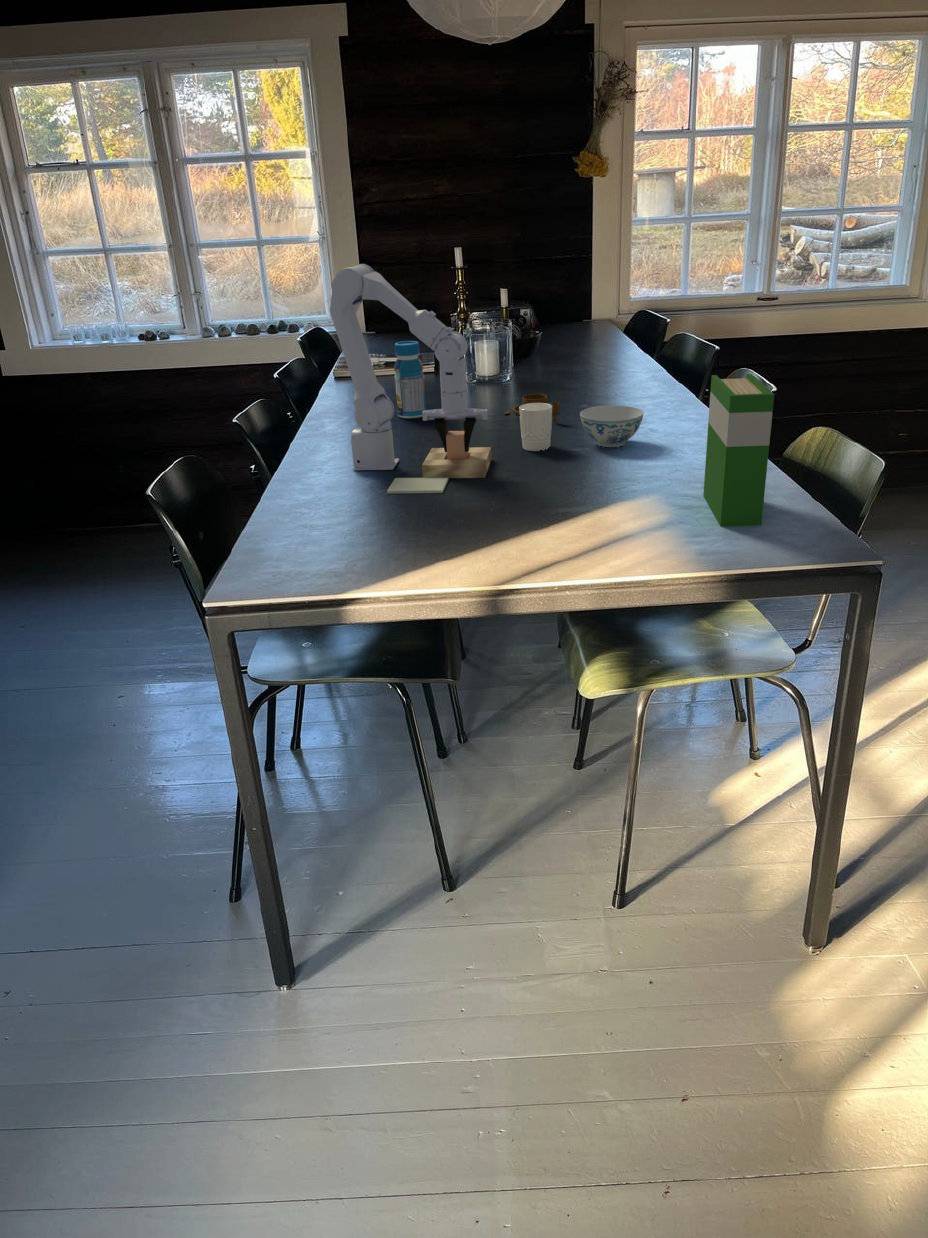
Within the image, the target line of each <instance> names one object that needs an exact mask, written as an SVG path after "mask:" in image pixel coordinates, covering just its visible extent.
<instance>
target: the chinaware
mask: <svg viewBox="0 0 928 1238" xmlns="http://www.w3.org/2000/svg"><path fill="white" fill-rule="evenodd" d="M644 414H645V412H644V410H642V409H641V408H638V407H635V406H629V405H618V404H617V405H616V404H615V405H612V404H611V405H609V404H608V405H598V406H593V407H588V408H585V409H583V410H581V411H580V412H579V416H580V417H579V418H580V421H581V425H582V426H583V429H584V430H585V432H586V433H587V435H588V436H589V437H590V438H591V439H592V440H594V441H596V445H597V444H598V445H599V446H598V445H597V446H598V447H600V446H604V447H617V448H619V447H618V446H622V445H624V444H625V445H626V442H627V441H628V440H630V439H631V438H632V437H633V436H634V435H635V434H636V433H637V432H638V430H639V428H640V426H641V424H642V422H643V420H644V419H643V418H644ZM625 445H624V446H625ZM604 447H603V448H604ZM622 447H623V446H622Z"/></svg>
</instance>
